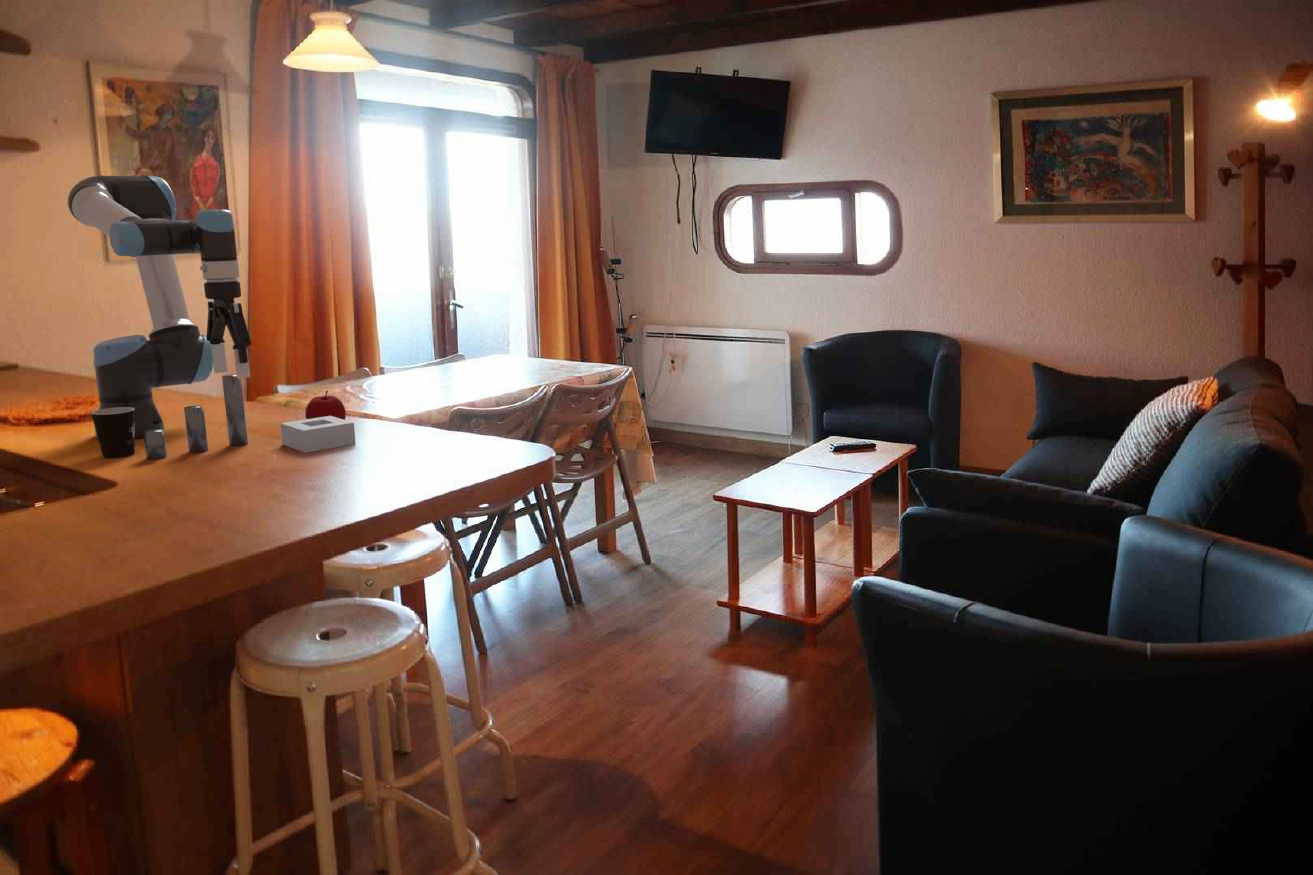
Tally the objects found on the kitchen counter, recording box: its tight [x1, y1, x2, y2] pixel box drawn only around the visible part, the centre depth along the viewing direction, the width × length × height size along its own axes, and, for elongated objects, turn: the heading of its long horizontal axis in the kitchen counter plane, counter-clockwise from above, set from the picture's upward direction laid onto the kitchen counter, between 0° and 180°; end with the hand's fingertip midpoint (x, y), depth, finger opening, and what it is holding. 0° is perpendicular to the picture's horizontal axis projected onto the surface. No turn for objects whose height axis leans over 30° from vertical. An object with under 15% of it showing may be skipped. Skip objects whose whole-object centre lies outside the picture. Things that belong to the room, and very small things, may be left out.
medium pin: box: [183, 404, 209, 454], centre depth 240 cm, size 4×4×10 cm
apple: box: [305, 390, 347, 420], centre depth 259 cm, size 9×9×10 cm
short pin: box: [143, 429, 168, 461], centre depth 235 cm, size 4×4×6 cm
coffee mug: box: [90, 407, 136, 459], centre depth 239 cm, size 12×9×10 cm
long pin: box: [221, 373, 249, 447], centre depth 245 cm, size 4×4×16 cm
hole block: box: [280, 416, 357, 454], centre depth 245 cm, size 12×12×5 cm
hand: (232, 375), depth 243 cm, fingers open, 13 cm apart
